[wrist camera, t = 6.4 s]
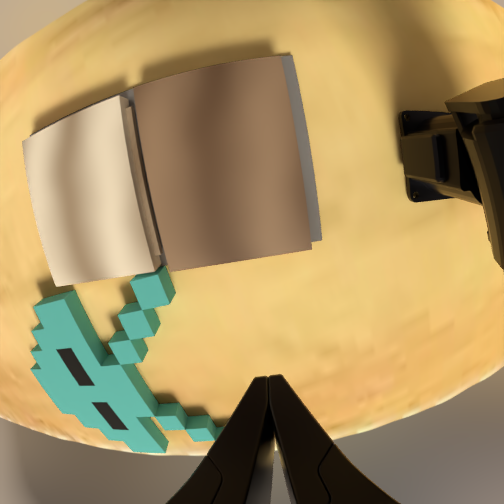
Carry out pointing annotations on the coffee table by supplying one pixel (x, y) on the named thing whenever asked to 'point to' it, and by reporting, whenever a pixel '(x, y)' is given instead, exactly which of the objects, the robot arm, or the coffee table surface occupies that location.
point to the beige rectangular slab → (92, 195)
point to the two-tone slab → (227, 162)
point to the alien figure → (110, 368)
